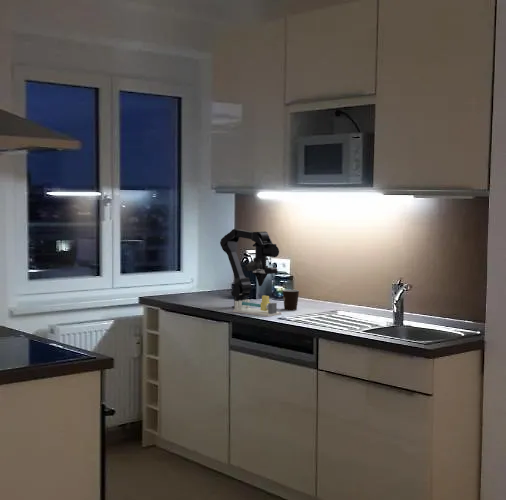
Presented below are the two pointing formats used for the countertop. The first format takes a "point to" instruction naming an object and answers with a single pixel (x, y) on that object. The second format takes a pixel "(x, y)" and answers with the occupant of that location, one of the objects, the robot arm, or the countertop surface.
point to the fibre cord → (270, 306)
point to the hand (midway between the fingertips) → (260, 285)
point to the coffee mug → (290, 299)
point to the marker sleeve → (264, 303)
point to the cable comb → (251, 309)
